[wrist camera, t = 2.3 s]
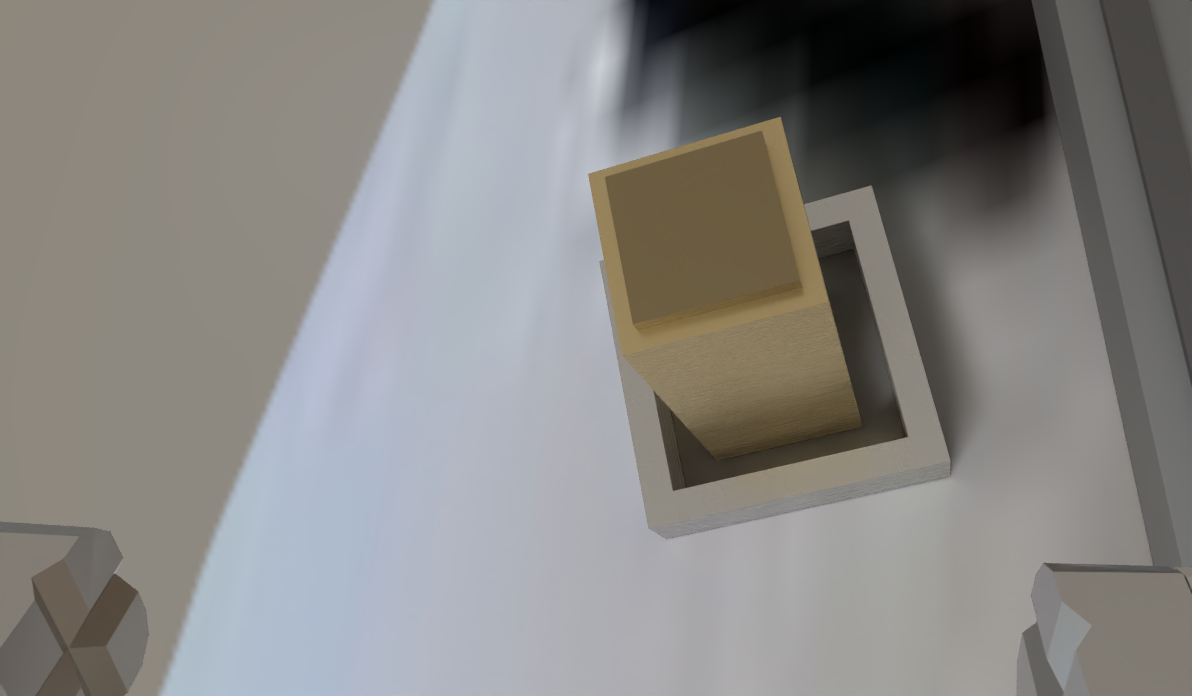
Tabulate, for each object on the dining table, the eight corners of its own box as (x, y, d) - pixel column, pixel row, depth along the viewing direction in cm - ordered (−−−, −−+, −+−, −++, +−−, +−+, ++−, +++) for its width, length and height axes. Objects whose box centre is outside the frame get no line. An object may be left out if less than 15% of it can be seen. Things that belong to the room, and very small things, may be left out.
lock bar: (862, 426, 30) (826, 294, 20) (717, 460, 30) (616, 349, 21) (827, 290, 31) (777, 107, 21) (689, 327, 32) (582, 165, 22)
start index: (949, 476, 28) (950, 460, 27) (666, 539, 30) (648, 528, 28) (875, 215, 31) (871, 185, 29) (618, 286, 33) (599, 261, 31)
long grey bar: (1375, 874, 24) (1439, 899, 21) (1220, 877, 24) (1261, 901, 21) (1121, -115, 32) (1140, -201, 29) (1012, -90, 33) (1019, -171, 30)
